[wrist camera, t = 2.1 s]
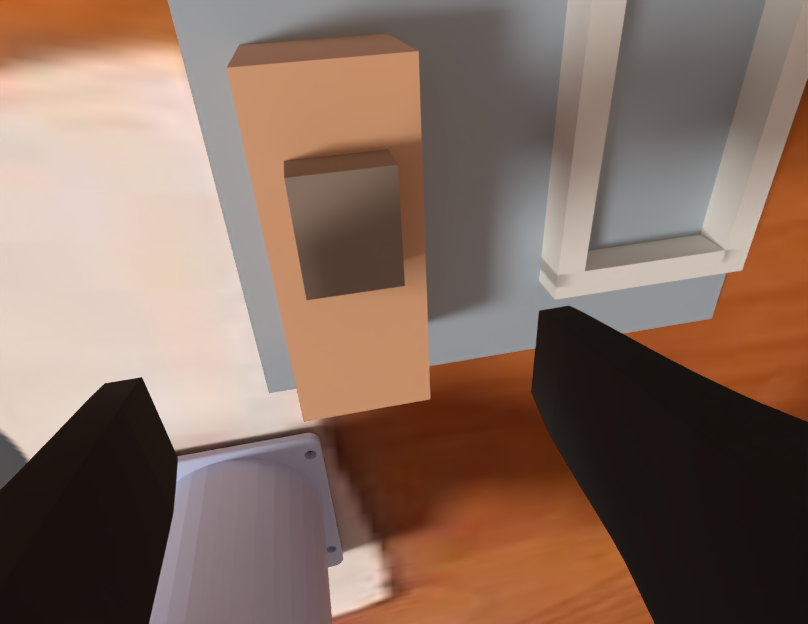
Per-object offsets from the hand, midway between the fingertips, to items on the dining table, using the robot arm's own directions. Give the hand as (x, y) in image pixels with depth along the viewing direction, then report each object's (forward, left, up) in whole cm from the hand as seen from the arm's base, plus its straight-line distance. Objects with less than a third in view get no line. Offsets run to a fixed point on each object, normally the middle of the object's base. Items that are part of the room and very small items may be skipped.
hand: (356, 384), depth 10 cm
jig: (+2, -6, -9) cm, 12 cm away
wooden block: (0, 0, -9) cm, 9 cm away
